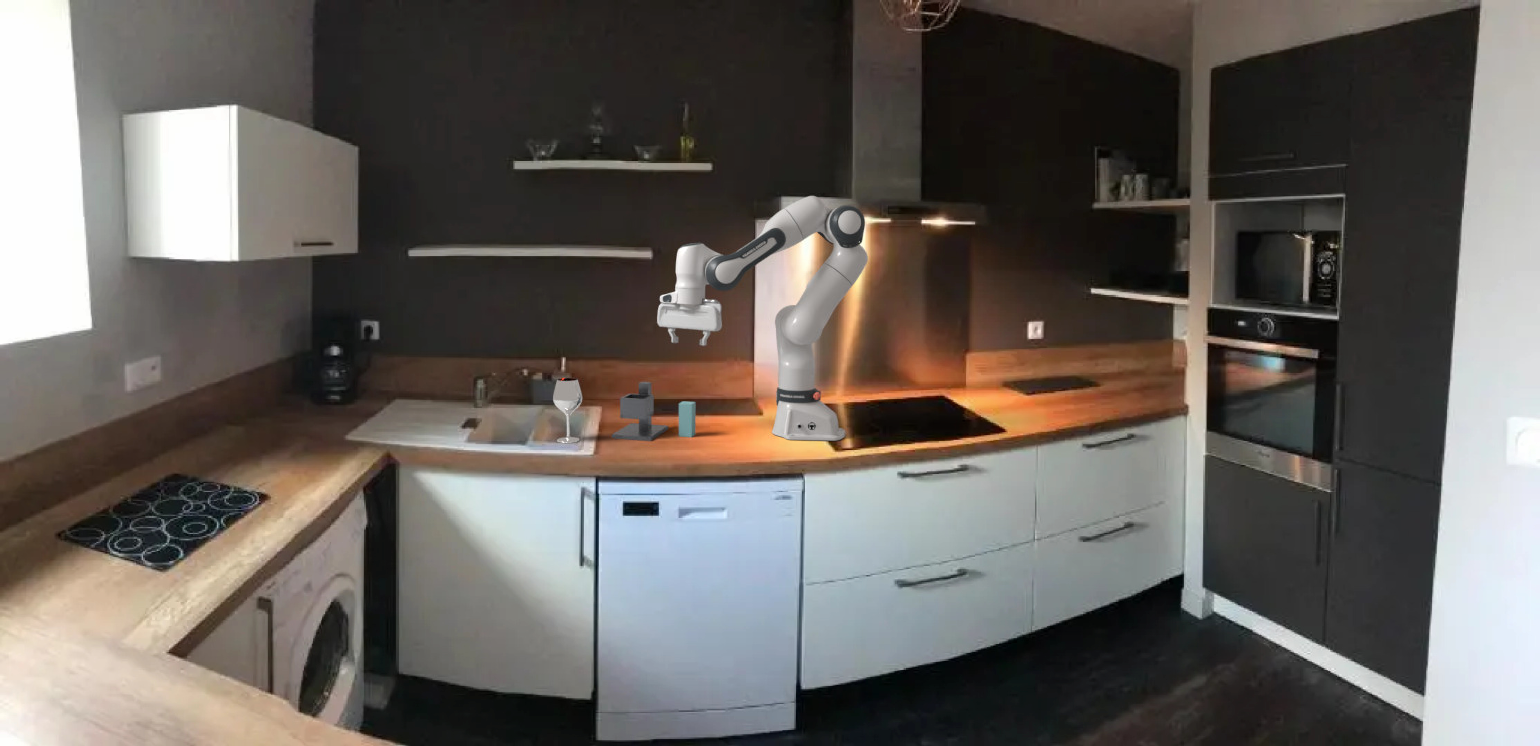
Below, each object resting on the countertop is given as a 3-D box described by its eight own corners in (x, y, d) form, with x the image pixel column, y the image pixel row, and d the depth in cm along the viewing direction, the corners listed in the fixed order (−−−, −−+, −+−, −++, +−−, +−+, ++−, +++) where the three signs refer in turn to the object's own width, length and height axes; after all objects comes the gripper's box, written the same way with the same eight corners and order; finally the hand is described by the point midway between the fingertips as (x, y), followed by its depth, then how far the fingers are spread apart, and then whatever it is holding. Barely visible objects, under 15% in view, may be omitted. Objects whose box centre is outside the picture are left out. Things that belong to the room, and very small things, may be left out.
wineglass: (577, 436, 256) (576, 376, 253) (586, 441, 249) (586, 380, 246) (550, 439, 252) (548, 378, 249) (559, 445, 245) (558, 382, 242)
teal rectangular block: (695, 434, 261) (695, 402, 260) (691, 437, 257) (691, 404, 256) (682, 433, 262) (682, 401, 260) (678, 436, 258) (678, 403, 257)
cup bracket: (668, 429, 267) (668, 381, 265) (650, 441, 252) (650, 390, 249) (631, 426, 269) (631, 379, 267) (611, 438, 254) (611, 388, 252)
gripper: (726, 299, 255) (724, 345, 257) (665, 295, 262) (664, 340, 264) (716, 300, 249) (715, 348, 251) (655, 296, 256) (654, 342, 259)
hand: (688, 344), depth 258 cm, fingers open, 8 cm apart
